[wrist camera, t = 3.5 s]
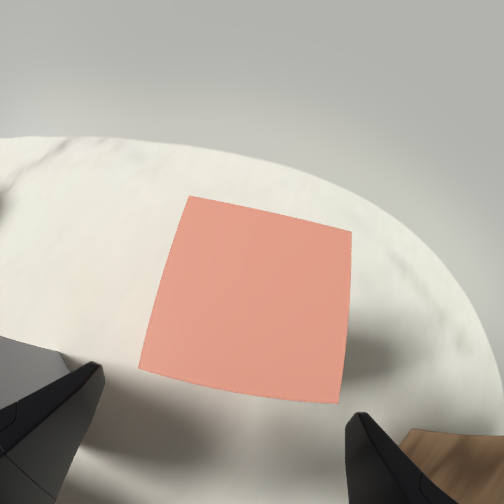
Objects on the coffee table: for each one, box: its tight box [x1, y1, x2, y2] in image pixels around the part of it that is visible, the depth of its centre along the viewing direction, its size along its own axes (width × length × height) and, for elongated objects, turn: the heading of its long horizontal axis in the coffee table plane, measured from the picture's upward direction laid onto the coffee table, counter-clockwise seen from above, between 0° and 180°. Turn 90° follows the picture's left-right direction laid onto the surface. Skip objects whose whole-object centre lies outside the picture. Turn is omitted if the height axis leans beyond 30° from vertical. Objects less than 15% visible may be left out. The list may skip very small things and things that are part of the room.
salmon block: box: [138, 196, 351, 404], centre depth 13 cm, size 5×5×13 cm
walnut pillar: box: [398, 429, 504, 504], centre depth 9 cm, size 5×5×13 cm
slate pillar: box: [0, 336, 70, 409], centre depth 9 cm, size 5×5×13 cm
